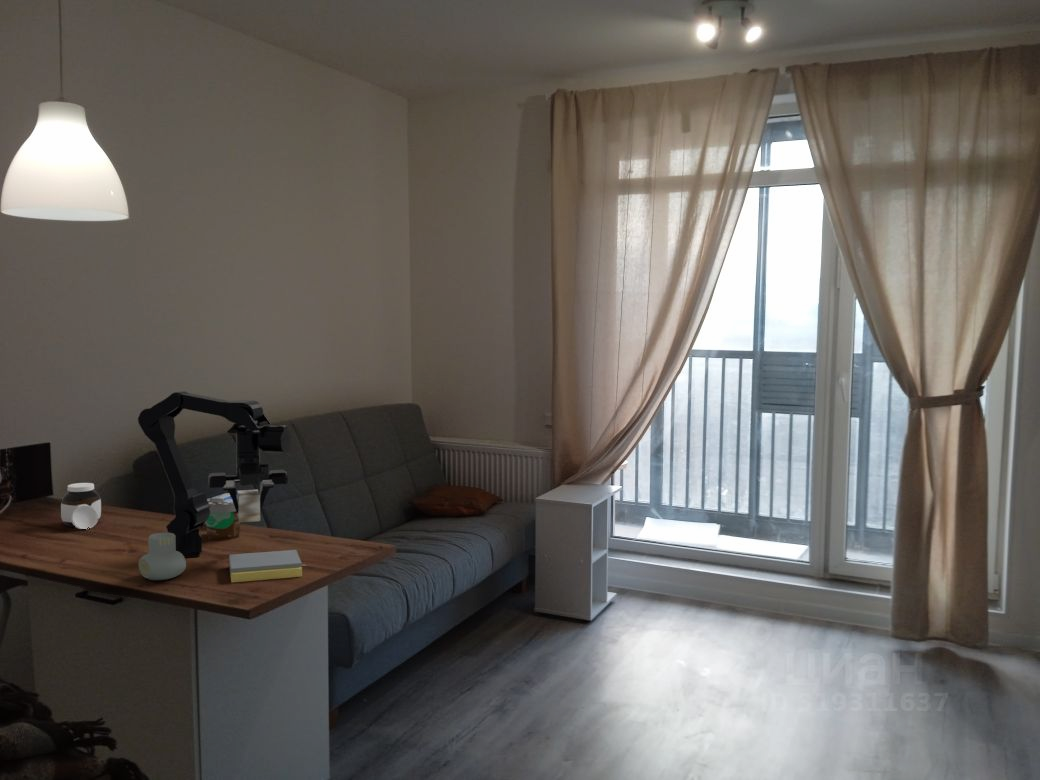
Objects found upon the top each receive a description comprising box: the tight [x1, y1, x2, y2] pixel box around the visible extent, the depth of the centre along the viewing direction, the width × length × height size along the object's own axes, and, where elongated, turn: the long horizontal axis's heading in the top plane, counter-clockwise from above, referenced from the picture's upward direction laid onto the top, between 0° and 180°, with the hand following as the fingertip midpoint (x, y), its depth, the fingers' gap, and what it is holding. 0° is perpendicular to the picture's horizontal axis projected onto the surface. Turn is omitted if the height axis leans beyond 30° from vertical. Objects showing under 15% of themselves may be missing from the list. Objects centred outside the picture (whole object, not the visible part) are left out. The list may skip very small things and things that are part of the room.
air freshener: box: [138, 532, 187, 581], centre depth 197 cm, size 11×8×10 cm
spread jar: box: [60, 482, 102, 530], centre depth 242 cm, size 12×11×12 cm
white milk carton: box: [236, 489, 261, 523], centre depth 212 cm, size 5×8×6 cm, turn 22°
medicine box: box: [210, 492, 234, 504], centre depth 247 cm, size 8×4×9 cm, turn 168°
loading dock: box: [228, 549, 303, 583], centre depth 203 cm, size 16×13×3 cm
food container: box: [205, 498, 241, 541], centre depth 232 cm, size 12×6×10 cm, turn 68°
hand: (248, 512), depth 212 cm, fingers closed on white milk carton, 5 cm apart
